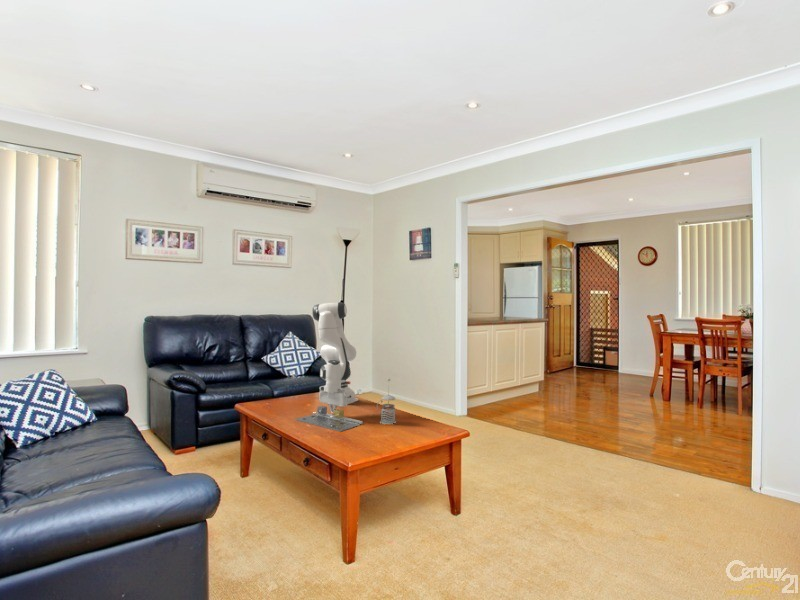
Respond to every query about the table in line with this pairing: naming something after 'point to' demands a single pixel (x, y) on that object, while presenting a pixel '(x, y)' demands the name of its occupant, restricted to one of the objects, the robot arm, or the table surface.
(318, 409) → the trammel beam
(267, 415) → the table surface
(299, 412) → the table surface
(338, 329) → the robot arm
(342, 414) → the sliding head
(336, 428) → the flange plate
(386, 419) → the french press
